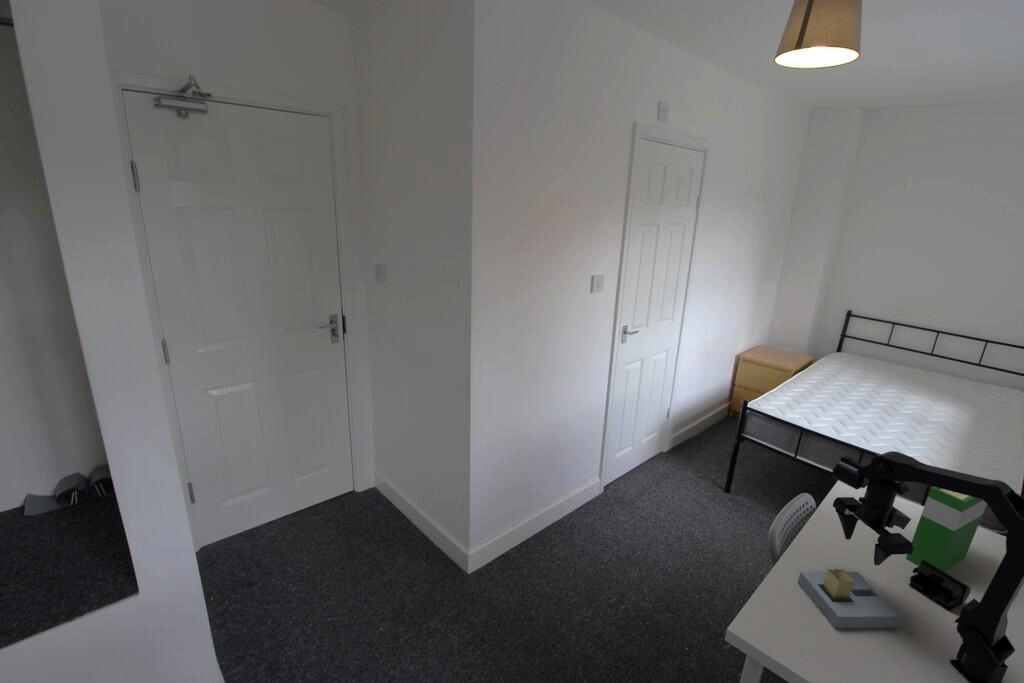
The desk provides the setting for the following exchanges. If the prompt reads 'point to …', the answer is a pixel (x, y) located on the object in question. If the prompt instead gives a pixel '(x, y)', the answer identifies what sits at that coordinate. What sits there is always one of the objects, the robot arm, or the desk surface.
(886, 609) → the slate bore board
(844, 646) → the desk surface
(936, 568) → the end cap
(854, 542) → the desk surface
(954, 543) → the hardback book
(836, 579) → the brass square bit
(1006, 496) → the robot arm
